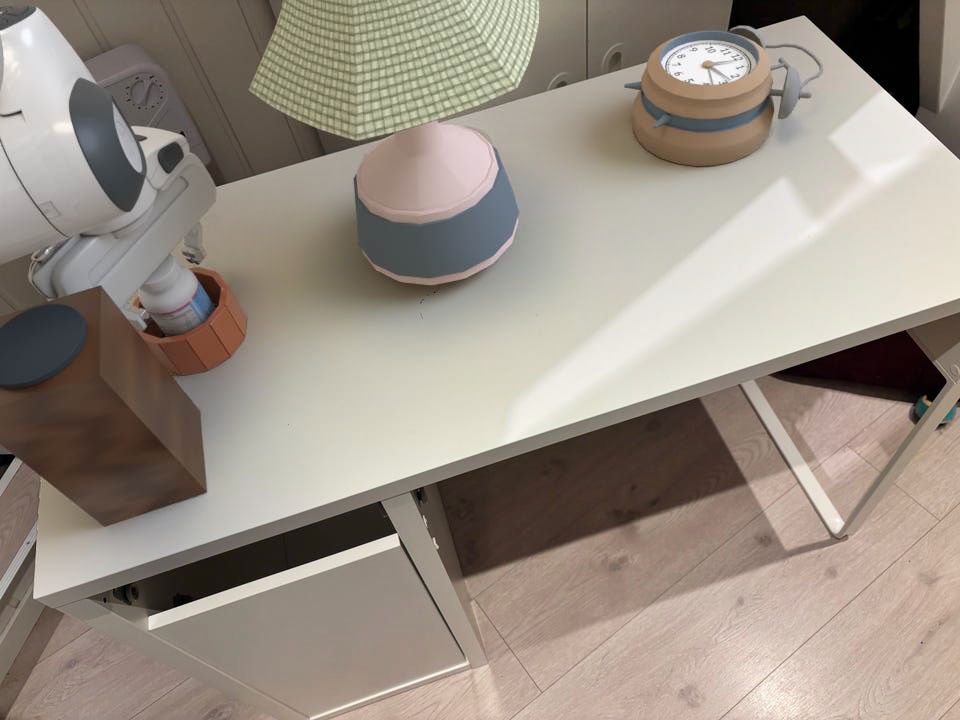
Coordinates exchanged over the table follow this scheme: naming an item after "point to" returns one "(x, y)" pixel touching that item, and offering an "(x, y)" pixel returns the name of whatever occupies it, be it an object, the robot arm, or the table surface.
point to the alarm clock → (712, 96)
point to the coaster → (39, 344)
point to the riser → (107, 421)
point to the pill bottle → (175, 298)
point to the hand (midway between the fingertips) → (171, 290)
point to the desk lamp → (409, 118)
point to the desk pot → (201, 331)
